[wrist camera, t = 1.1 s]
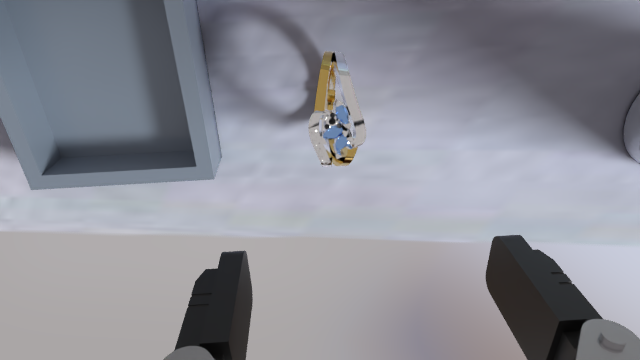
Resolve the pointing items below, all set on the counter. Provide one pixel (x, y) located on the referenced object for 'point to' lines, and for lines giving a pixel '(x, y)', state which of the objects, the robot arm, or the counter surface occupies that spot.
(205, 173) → the dish
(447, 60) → the counter surface
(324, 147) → the ring
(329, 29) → the counter surface
